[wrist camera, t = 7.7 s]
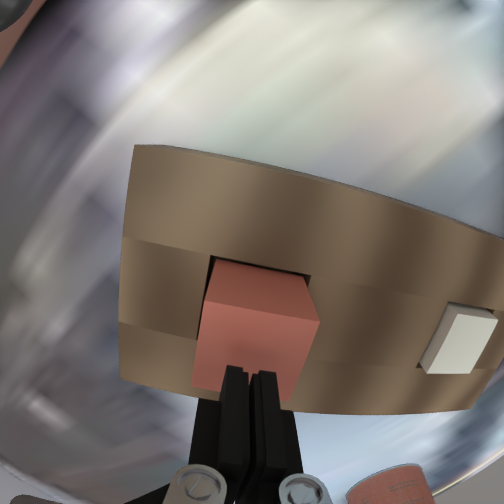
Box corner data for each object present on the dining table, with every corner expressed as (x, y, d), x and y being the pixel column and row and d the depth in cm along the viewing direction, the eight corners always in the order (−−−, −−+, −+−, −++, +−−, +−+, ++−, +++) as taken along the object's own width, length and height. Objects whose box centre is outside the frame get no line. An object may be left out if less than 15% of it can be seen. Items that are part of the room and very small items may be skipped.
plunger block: (508, 241, 20) (546, 261, 15) (447, 376, 24) (470, 408, 20) (162, 144, 18) (134, 144, 13) (140, 336, 22) (119, 378, 18)
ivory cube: (466, 292, 20) (498, 319, 15) (443, 341, 21) (469, 373, 17) (424, 283, 19) (457, 313, 15) (401, 337, 21) (426, 373, 17)
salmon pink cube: (303, 276, 16) (320, 321, 12) (280, 346, 17) (288, 401, 13) (216, 258, 15) (204, 300, 11) (203, 332, 17) (190, 386, 13)
